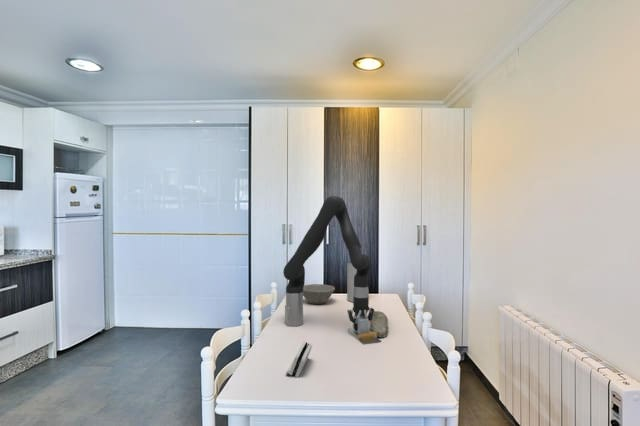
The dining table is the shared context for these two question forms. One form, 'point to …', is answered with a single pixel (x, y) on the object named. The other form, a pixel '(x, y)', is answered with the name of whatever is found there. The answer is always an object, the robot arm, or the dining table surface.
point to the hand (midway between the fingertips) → (360, 329)
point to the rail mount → (365, 337)
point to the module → (362, 325)
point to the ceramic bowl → (317, 293)
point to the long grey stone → (379, 323)
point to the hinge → (299, 359)
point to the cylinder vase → (350, 281)
